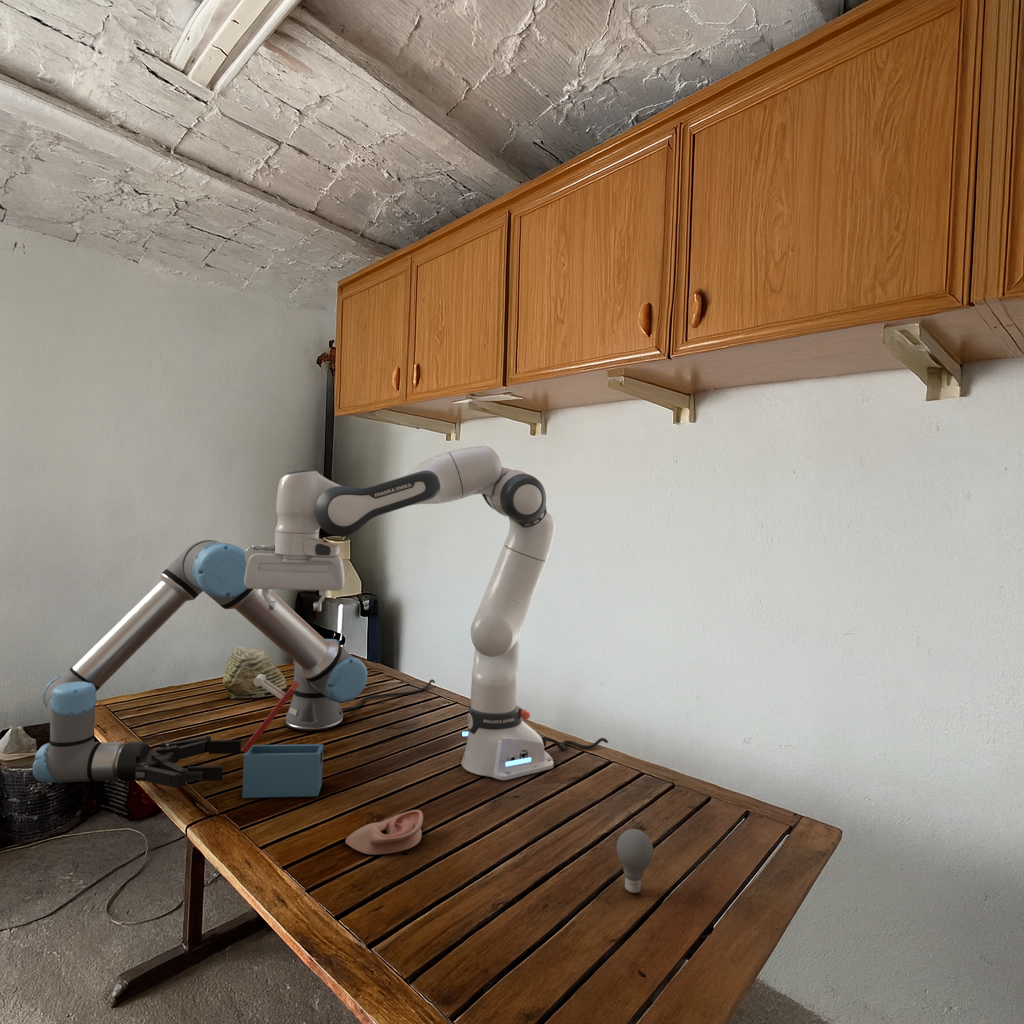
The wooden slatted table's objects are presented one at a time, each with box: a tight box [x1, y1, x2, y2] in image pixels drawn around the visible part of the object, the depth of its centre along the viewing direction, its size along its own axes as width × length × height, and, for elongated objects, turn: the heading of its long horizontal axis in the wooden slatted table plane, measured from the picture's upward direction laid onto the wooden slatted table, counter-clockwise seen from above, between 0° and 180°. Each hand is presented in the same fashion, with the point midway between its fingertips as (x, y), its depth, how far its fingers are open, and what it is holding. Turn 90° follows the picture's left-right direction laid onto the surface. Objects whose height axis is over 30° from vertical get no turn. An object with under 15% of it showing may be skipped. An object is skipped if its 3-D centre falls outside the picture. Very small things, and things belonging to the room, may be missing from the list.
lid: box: [241, 674, 299, 754], centre depth 134 cm, size 16×5×8 cm
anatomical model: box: [344, 809, 424, 856], centre depth 118 cm, size 13×4×12 cm
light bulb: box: [615, 828, 654, 894], centre depth 106 cm, size 6×6×10 cm
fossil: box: [222, 646, 288, 699], centre depth 198 cm, size 9×18×15 cm, turn 132°
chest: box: [241, 743, 324, 799], centre depth 135 cm, size 15×5×9 cm, turn 98°
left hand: (232, 759), depth 134 cm, fingers open, 13 cm apart
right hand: (294, 610), depth 135 cm, fingers open, 8 cm apart
